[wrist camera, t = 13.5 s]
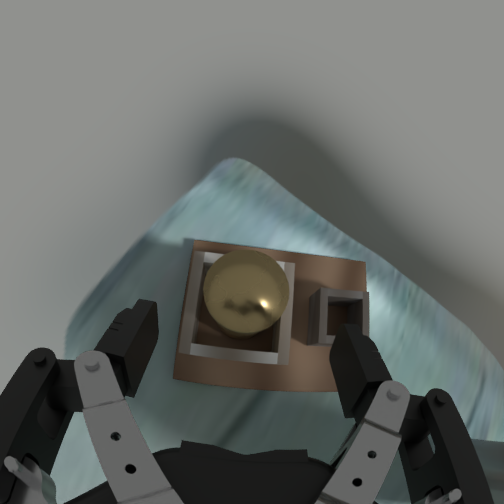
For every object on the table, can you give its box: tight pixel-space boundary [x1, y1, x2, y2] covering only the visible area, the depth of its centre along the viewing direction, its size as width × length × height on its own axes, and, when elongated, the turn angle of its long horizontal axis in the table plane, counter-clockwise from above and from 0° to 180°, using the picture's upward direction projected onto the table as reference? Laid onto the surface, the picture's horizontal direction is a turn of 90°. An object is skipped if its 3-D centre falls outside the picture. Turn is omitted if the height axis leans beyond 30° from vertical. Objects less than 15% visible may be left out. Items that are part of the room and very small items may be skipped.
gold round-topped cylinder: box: [203, 249, 289, 340], centre depth 18 cm, size 5×5×8 cm
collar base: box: [173, 240, 369, 392], centre depth 21 cm, size 16×12×4 cm
